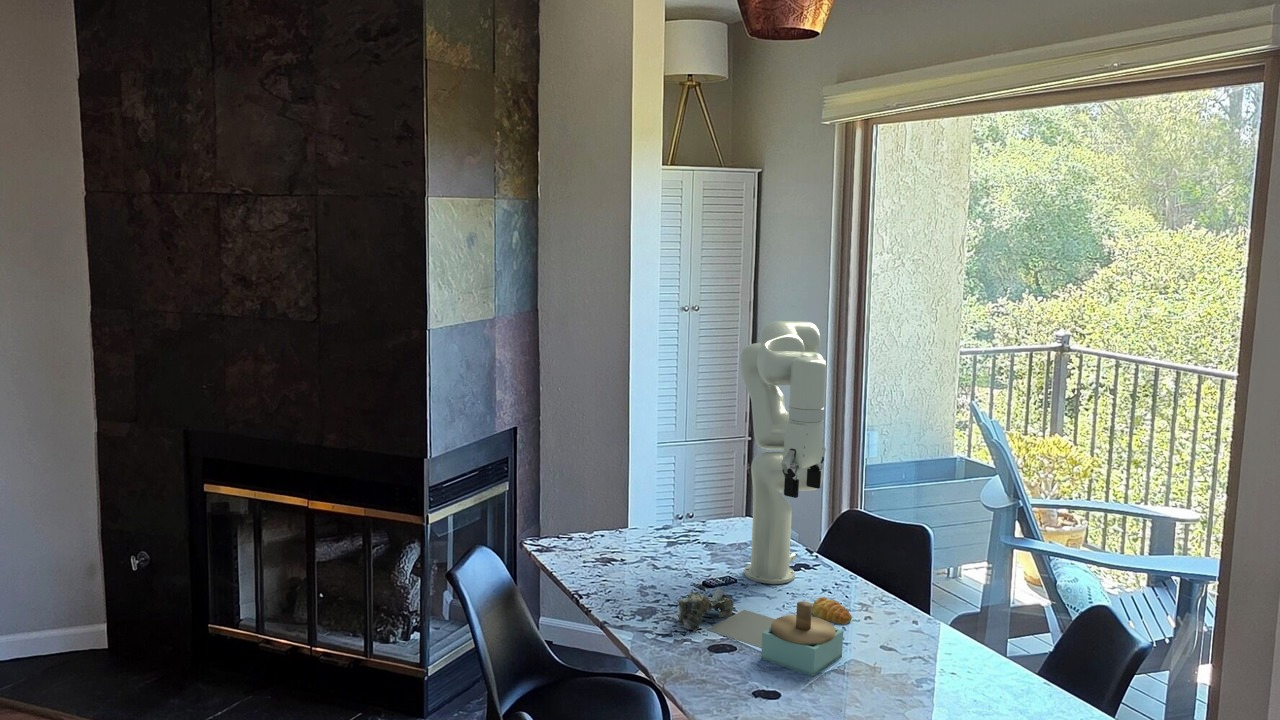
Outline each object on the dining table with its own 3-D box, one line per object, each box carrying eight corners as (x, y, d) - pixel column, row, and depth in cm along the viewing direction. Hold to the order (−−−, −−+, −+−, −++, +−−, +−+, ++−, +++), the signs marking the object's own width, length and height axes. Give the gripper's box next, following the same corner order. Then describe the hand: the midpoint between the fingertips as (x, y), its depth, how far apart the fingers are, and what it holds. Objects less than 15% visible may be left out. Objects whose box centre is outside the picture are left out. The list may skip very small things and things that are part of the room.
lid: (790, 613, 219) (792, 587, 219) (846, 630, 212) (848, 603, 211) (759, 632, 209) (760, 605, 208) (816, 650, 201) (817, 622, 200)
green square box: (790, 641, 219) (792, 615, 219) (841, 658, 212) (843, 630, 211) (761, 660, 210) (762, 632, 209) (813, 678, 203) (814, 649, 202)
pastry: (858, 622, 231) (859, 606, 231) (838, 629, 227) (839, 613, 226) (826, 609, 238) (827, 593, 238) (806, 616, 234) (807, 600, 234)
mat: (744, 611, 235) (744, 609, 235) (802, 629, 226) (802, 627, 226) (706, 631, 224) (706, 629, 224) (766, 651, 215) (766, 649, 214)
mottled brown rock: (751, 611, 227) (702, 583, 221) (725, 653, 227) (675, 626, 220) (727, 590, 238) (680, 563, 231) (702, 630, 237) (654, 604, 231)
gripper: (810, 406, 231) (806, 480, 233) (770, 418, 217) (766, 496, 220) (840, 411, 226) (836, 487, 229) (801, 423, 213) (797, 503, 215)
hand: (802, 491), depth 224 cm, fingers open, 9 cm apart
